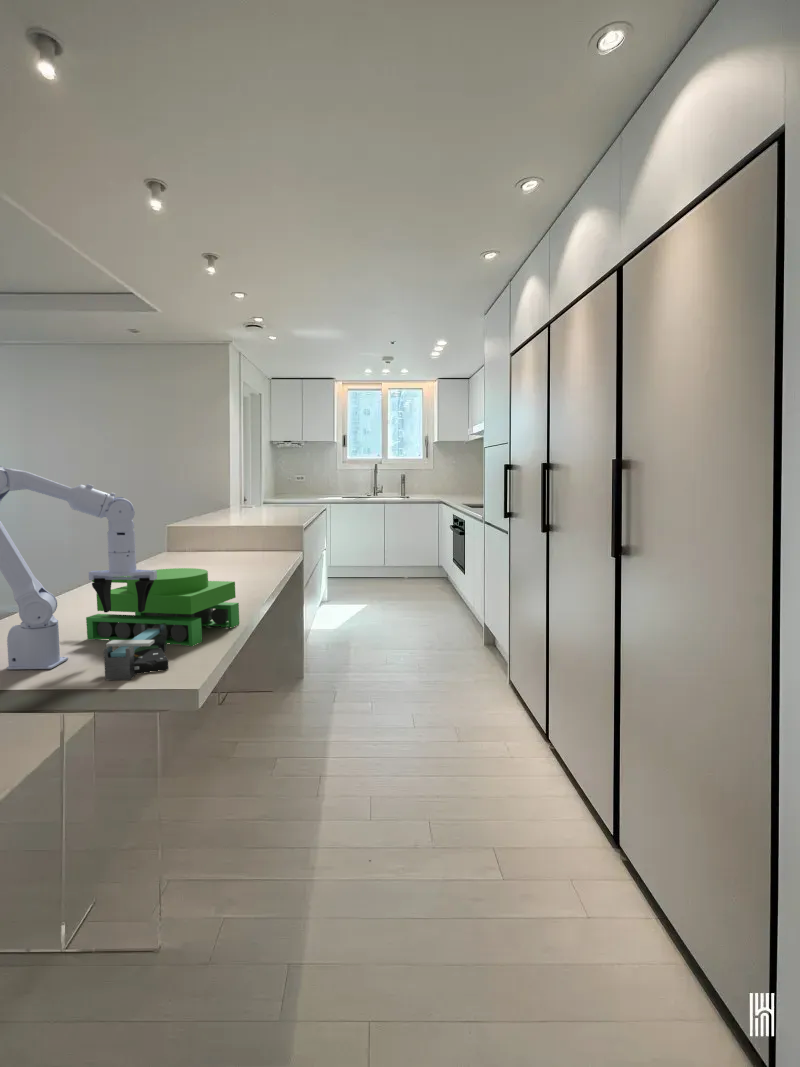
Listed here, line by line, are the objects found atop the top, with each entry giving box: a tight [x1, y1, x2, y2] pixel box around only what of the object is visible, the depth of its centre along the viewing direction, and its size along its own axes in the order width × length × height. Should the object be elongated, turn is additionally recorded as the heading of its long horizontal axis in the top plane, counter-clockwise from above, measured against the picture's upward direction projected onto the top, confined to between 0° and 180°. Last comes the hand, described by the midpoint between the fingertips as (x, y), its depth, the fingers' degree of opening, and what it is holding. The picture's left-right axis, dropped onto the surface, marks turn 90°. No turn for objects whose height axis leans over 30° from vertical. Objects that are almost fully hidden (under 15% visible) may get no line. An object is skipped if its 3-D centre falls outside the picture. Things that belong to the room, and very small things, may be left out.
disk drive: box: [114, 644, 170, 675], centre depth 145 cm, size 10×3×15 cm
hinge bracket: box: [141, 623, 168, 653], centre depth 154 cm, size 5×2×7 cm, turn 91°
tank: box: [85, 567, 240, 647], centre depth 175 cm, size 24×35×16 cm
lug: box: [103, 646, 136, 681], centre depth 135 cm, size 5×2×6 cm, turn 91°
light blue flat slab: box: [105, 628, 161, 657], centre depth 144 cm, size 9×21×2 cm, turn 1°
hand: (124, 611), depth 150 cm, fingers open, 7 cm apart
